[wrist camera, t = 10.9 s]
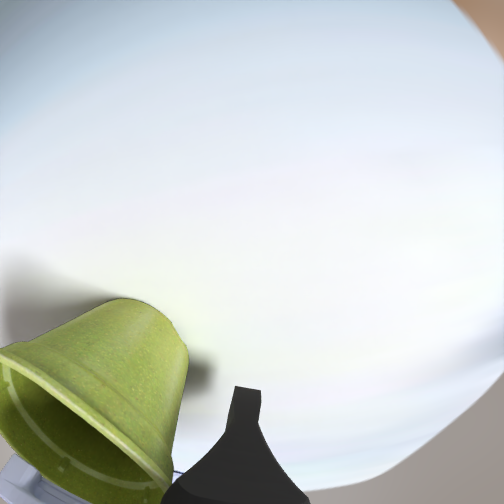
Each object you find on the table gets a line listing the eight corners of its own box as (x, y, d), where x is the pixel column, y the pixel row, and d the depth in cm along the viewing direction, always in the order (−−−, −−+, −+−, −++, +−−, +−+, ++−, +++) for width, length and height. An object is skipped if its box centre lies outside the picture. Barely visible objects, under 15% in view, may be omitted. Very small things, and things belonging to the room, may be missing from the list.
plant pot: (75, 242, 13) (-54, 301, 5) (242, 301, 13) (198, 458, 5) (75, 370, 16) (4, 449, 8) (202, 424, 16) (167, 538, 8)
